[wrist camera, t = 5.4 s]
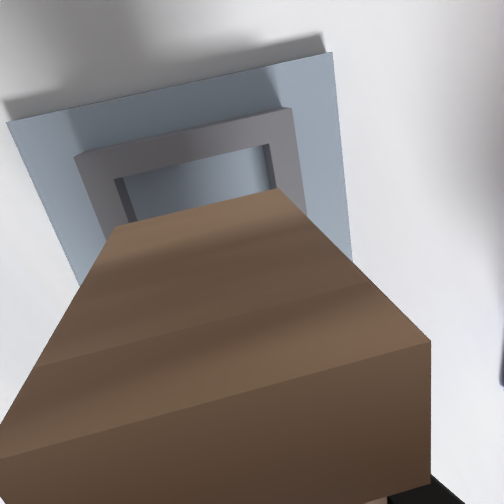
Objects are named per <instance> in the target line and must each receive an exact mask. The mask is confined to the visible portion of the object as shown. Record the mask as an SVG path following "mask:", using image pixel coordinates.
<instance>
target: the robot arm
mask: <svg viewBox="0 0 504 504" xmlns="http://www.w3.org/2000/svg"><path fill="white" fill-rule="evenodd" d="M387 504H465V503H464V502H463V501H462V500H460V499H459V498H458V497H457V496H456V495H454V494H453V493H452V492H451V491H450V490H449V489H447V488H446V487H445V486H444V485H443V484H442V483H440V482H439V481H438V480H437V479H436V478H435V477H434V476H433V475H432V474H431V484H427V485H424V486H421V487H417V488H414V489H411V490H407V491H404V492H401V493H397V494H394V495H391V496H387Z"/></svg>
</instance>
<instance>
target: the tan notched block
mask: <svg viewBox="0 0 504 504" xmlns="http://www.w3.org/2000/svg"><path fill="white" fill-rule="evenodd" d="M427 484H431V340H430V339H429V338H428V337H427V336H426V335H425V334H424V333H423V332H422V331H421V330H420V329H419V328H418V327H417V326H416V325H415V324H414V323H413V322H412V321H411V320H410V319H409V318H408V317H407V316H406V315H405V314H404V313H403V312H402V311H401V310H400V309H399V308H398V307H397V306H396V305H395V304H394V303H393V302H392V301H391V300H390V299H389V298H388V297H387V296H386V295H385V294H384V293H383V292H382V291H381V290H380V289H379V288H378V287H377V286H376V285H375V284H374V283H373V282H372V281H371V280H370V279H369V278H368V277H367V276H366V275H365V274H364V273H363V272H362V271H361V270H360V269H359V268H358V267H357V266H356V265H355V264H354V263H353V262H352V261H351V260H350V259H349V258H348V257H347V256H346V255H345V254H344V253H343V252H342V251H341V250H340V249H339V248H338V247H337V246H336V245H335V244H334V243H333V242H332V241H331V240H330V239H329V238H328V237H327V236H326V235H325V234H324V233H323V232H322V231H321V230H320V229H319V228H318V227H317V226H316V225H315V224H314V223H313V222H312V221H311V220H310V219H309V218H308V217H307V216H306V215H305V214H304V213H303V212H302V211H301V210H300V209H299V208H298V207H297V206H296V205H295V204H294V203H293V202H292V201H291V200H290V199H289V198H288V197H287V196H286V195H285V194H284V193H283V192H282V191H281V190H280V189H279V188H275V189H271V190H267V191H263V192H259V193H254V194H250V195H246V196H242V197H238V198H233V199H229V200H225V201H221V202H217V203H212V204H208V205H204V206H200V207H196V208H191V209H187V210H183V211H179V212H175V213H170V214H166V215H162V216H158V217H154V218H149V219H145V220H141V221H137V222H132V223H128V224H124V225H120V226H116V227H114V229H113V231H112V233H111V234H110V236H109V238H108V239H107V241H106V243H105V245H104V246H103V248H102V250H101V252H100V253H99V255H98V257H97V258H96V260H95V262H94V264H93V265H92V267H91V269H90V271H89V272H88V274H87V276H86V277H85V279H84V281H83V283H82V284H81V286H80V288H79V290H78V291H77V293H76V295H75V296H74V298H73V300H72V302H71V303H70V305H69V307H68V309H67V310H66V312H65V314H64V315H63V317H62V319H61V321H60V322H59V324H58V326H57V328H56V329H55V331H54V333H53V334H52V336H51V338H50V340H49V341H48V343H47V345H46V347H45V348H44V350H43V352H42V353H41V355H40V357H39V359H38V360H37V362H36V364H35V366H34V367H33V369H32V371H31V372H30V374H29V376H28V378H27V379H26V381H25V383H24V385H23V386H22V388H21V390H20V391H19V393H18V395H17V397H16V398H15V400H14V402H13V404H12V405H11V407H10V409H9V410H8V412H7V414H6V416H5V417H4V419H3V421H2V423H1V424H0V497H1V498H2V500H3V501H4V502H5V503H6V504H387V496H391V495H394V494H397V493H401V492H404V491H407V490H411V489H414V488H417V487H421V486H424V485H427Z"/></svg>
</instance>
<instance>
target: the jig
mask: <svg viewBox="0 0 504 504" xmlns="http://www.w3.org/2000/svg"><path fill="white" fill-rule="evenodd" d="M6 124H7V126H8V128H9V130H10V132H11V135H12V137H13V139H14V141H15V144H16V146H17V148H18V150H19V152H20V155H21V157H22V159H23V161H24V164H25V166H26V168H27V170H28V172H29V175H30V177H31V179H32V181H33V184H34V186H35V188H36V190H37V192H38V195H39V197H40V199H41V201H42V203H43V206H44V208H45V210H46V212H47V215H48V217H49V219H50V221H51V223H52V226H53V228H54V230H55V232H56V235H57V237H58V239H59V241H60V243H61V246H62V248H63V250H64V252H65V255H66V257H67V259H68V261H69V263H70V266H71V268H72V270H73V272H74V274H75V277H76V279H77V281H78V283H79V286H81V284H82V283H83V281H84V279H85V277H86V276H87V274H88V272H89V271H90V269H91V267H92V265H93V264H94V262H95V260H96V258H97V257H98V255H99V253H100V252H101V250H102V248H103V246H104V245H105V243H106V241H107V239H108V238H109V236H110V234H111V233H112V231H113V229H114V227H116V226H120V225H124V224H128V223H132V222H137V221H141V220H145V219H149V218H154V217H158V216H162V215H166V214H170V213H175V212H179V211H183V210H187V209H191V208H196V207H200V206H204V205H208V204H212V203H217V202H221V201H225V200H229V199H233V198H238V197H242V196H246V195H250V194H254V193H259V192H263V191H267V190H271V189H275V188H279V189H280V190H281V191H282V192H283V193H284V194H285V195H286V196H287V197H288V198H289V199H290V200H291V201H292V202H293V203H294V204H295V205H296V206H297V207H298V208H299V209H300V210H301V211H302V212H303V213H304V214H305V215H306V216H307V217H308V218H309V219H310V220H311V221H312V222H313V223H314V224H315V225H316V226H317V227H318V228H319V229H320V230H321V231H322V232H323V233H324V234H325V235H326V236H327V237H328V238H329V239H330V240H331V241H332V242H333V243H334V244H335V245H336V246H337V247H338V248H339V249H340V250H341V251H342V252H343V253H344V254H345V255H346V256H347V257H348V258H349V259H350V260H351V261H352V250H351V240H350V230H349V219H348V209H347V199H346V188H345V178H344V167H343V157H342V147H341V136H340V126H339V115H338V105H337V95H336V84H335V74H334V63H333V53H332V52H329V53H324V54H320V55H315V56H310V57H306V58H301V59H296V60H292V61H287V62H283V63H278V64H273V65H269V66H264V67H259V68H255V69H250V70H246V71H241V72H236V73H232V74H227V75H222V76H218V77H213V78H209V79H204V80H199V81H195V82H190V83H185V84H181V85H176V86H172V87H167V88H162V89H158V90H153V91H148V92H144V93H139V94H135V95H130V96H125V97H121V98H116V99H111V100H107V101H102V102H98V103H93V104H88V105H84V106H79V107H74V108H70V109H65V110H61V111H56V112H51V113H47V114H42V115H38V116H33V117H28V118H24V119H19V120H14V121H10V122H6ZM352 262H353V261H352Z"/></svg>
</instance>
